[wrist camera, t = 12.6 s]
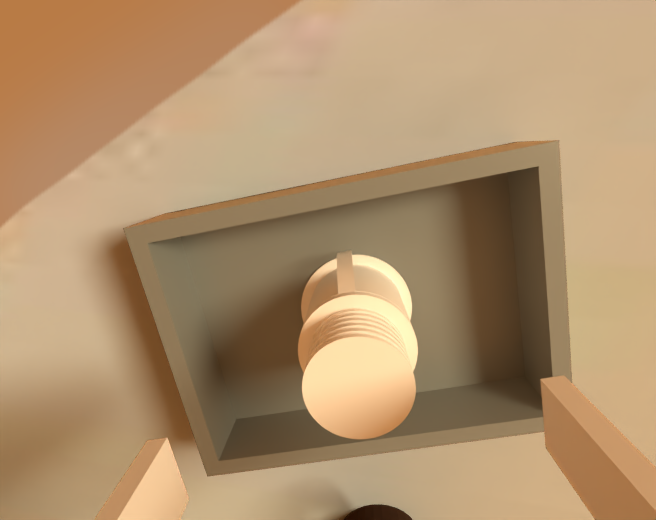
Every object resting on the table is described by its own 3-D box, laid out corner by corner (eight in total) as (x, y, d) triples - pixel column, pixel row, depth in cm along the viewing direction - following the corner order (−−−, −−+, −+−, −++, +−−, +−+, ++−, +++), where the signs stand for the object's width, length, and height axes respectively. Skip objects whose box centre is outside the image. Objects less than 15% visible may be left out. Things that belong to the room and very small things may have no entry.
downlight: (419, 354, 27) (458, 463, 17) (315, 370, 27) (294, 483, 18) (400, 236, 25) (432, 281, 15) (290, 256, 26) (252, 311, 16)
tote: (230, 423, 30) (207, 476, 25) (165, 213, 26) (123, 228, 21) (535, 379, 28) (574, 427, 23) (516, 141, 24) (559, 140, 19)
